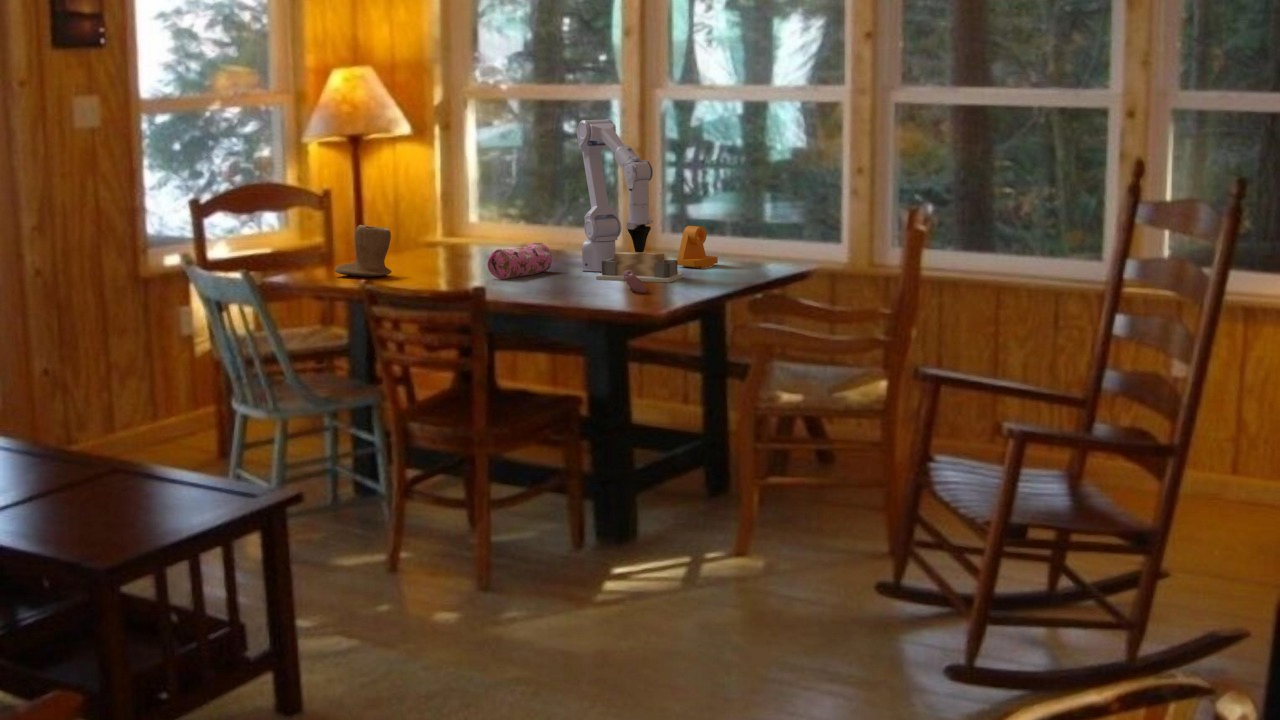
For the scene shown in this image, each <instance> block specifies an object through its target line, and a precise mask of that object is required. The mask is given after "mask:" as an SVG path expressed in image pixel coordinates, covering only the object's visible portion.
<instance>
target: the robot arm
mask: <svg viewBox="0 0 1280 720" xmlns="http://www.w3.org/2000/svg"><path fill="white" fill-rule="evenodd" d="M616 128H617V127H616V124H615V123H614V122H613V120H612V119H611V118H607V119H590V120H589V119H588V120H587V119H582V120H580V122H579V124H578V126H577V129H576V137H577V144H578V148H579V150H580V151H581V153H582V160H583V164H584V165H583V166H584V171H585V177H586V183H587V189H588V195H589V201H590V209H589V210H588V211H587V212H586V214H585V215H584V217H583V218H584V226H583V227H584V230H583V231H584V234H585V237H586V238H587V239H585V240H584V242H583V243H582V248H581V252H582V253H581V254H582V255H581V258H582V262H581V263H582V266H581V267H582V269H581V271H582V272H598V273H599V272H601V273H602V261H604V260H607V259H610V258H614V253H617V252H616V241H618V238H619V237H620V235H621V233H622V223H621V221H620V218H619V216H618V211H617V210H615V209H614V208H613V207H611V206H610V205H609V204H610V203H609V197H608V191H607V185H606V178H605V174H604V168H603V161H602V154H601V153H602V151H603V150H605V149H606V148H607V147H608V148H609V149H610V150H611V151H612V152H613V153H614V160H615V161H616V163H617V164H618V166H620V168H621V169H622V170H623V174H624V179H625V181H626V187H627V189H628V221H626V230H627V232H628V233H629V235H630V237H631V240H632V244H633V248H634V253H645V247H646V244H647V243H646V242H647V239H648V235H649V233H650V231H651V229H652V228H651V226H647V225H652V223H654V219H652V217H651V216H650V187H649V186H650V181H651V180H652V179H653V175H654V173H653V172H654V170H653V166H652V164H651V162H650V160H645V159H641V157H640V156H639V155H638V154H637V153H636V152H635V150H634V149H633V147H632V146H631V145H625V144H624V143H623V142H622V140H621V138H620V137H619V135H618V134H617V129H616Z"/></svg>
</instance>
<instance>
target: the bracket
mask: <svg viewBox="0 0 1280 720" xmlns="http://www.w3.org/2000/svg"><path fill="white" fill-rule="evenodd" d="M683 229H684V230H683V231H682V237H681V240H680V245H679V248H678V254H677V257H676V258H677V259H676V260H677V266H682V267H683V266H684V267H685V268H692V267H693V269H701V268H702V269H707V268H706V267H708V268H711V267H710V266H713V267H714V265H716V264H718V258H719V257H718V256H716V255H715V256H714V255H707V254H706V250H705V247H704V244H705V242H706V240H707V234H708V233H707V230H706V228H705V227H703V226H696V225H687V226H686V227H684V228H683Z"/></svg>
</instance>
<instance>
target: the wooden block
mask: <svg viewBox="0 0 1280 720" xmlns="http://www.w3.org/2000/svg"><path fill="white" fill-rule="evenodd" d="M664 260H665V253H655V252H653V253H651V252H648V253H647V252H630V251H629V252H627V251H626V252H625V251H624V252H622V251H617V252H616V253H614V261H617V275H623V273H624V271H626V270H632V271H634V272H635V275H638V276H655V269H654V263H664Z"/></svg>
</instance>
